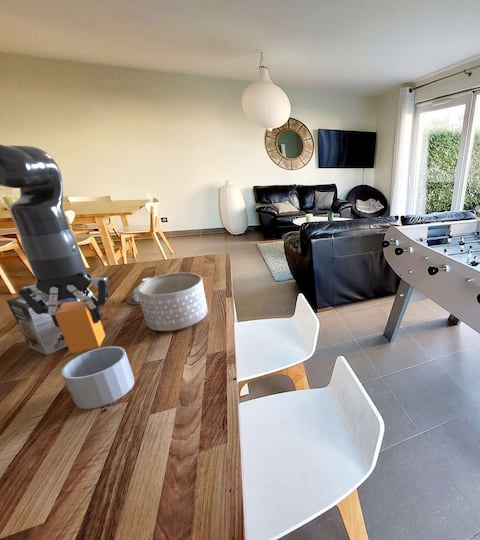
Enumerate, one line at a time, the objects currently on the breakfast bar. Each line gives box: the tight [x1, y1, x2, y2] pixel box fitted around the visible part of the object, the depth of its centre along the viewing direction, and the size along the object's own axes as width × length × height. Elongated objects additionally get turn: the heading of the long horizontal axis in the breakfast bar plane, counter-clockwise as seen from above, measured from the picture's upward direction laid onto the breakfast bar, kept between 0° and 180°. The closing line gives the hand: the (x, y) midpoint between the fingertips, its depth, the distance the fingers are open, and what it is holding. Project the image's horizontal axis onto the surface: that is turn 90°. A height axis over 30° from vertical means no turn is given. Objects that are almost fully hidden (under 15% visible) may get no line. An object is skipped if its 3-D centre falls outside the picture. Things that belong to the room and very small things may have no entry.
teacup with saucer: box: [126, 277, 152, 307], centre depth 114 cm, size 12×12×8 cm
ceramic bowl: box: [61, 345, 136, 410], centre depth 70 cm, size 11×11×9 cm
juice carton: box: [54, 301, 106, 354], centre depth 64 cm, size 5×5×10 cm
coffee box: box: [5, 292, 68, 356], centre depth 83 cm, size 9×6×16 cm
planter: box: [136, 272, 209, 332], centre depth 99 cm, size 19×19×14 cm
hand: (80, 323), depth 64 cm, fingers closed on juice carton, 5 cm apart
